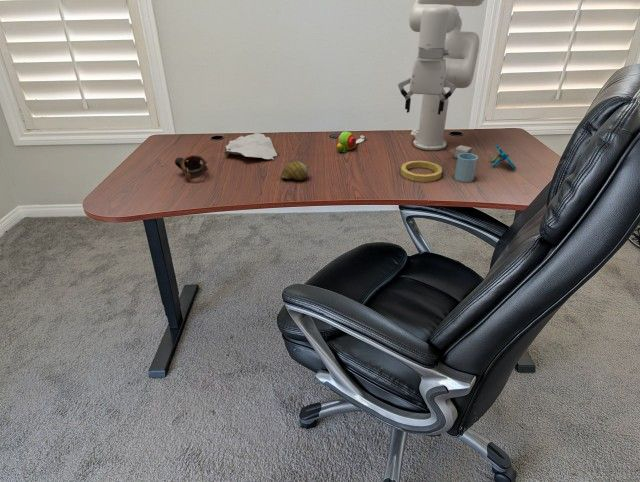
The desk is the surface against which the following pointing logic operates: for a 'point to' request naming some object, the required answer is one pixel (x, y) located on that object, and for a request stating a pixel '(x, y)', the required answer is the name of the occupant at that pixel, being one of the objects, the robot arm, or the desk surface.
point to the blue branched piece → (502, 157)
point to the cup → (466, 167)
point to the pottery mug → (192, 166)
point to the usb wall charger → (461, 150)
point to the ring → (419, 176)
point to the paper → (252, 146)
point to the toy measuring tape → (348, 141)
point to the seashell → (295, 171)
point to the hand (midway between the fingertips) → (423, 112)
